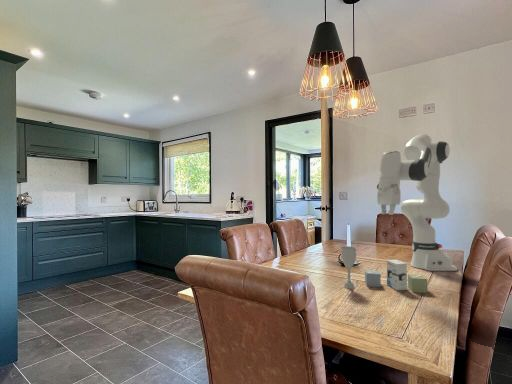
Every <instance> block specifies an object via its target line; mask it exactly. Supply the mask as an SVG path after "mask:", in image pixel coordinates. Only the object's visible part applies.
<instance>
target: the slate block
mask: <svg viewBox="0 0 512 384" xmlns="http://www.w3.org/2000/svg"><path fill="white" fill-rule="evenodd" d="M381 277H382V275H381V272H380V270H375V269H374V270H371V269H365V270H364V283H365V285H366V287H375V288H382V287H381V285H382V284H381V283H382V282H381V281H382V280H381V279H382V278H381Z"/></svg>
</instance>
